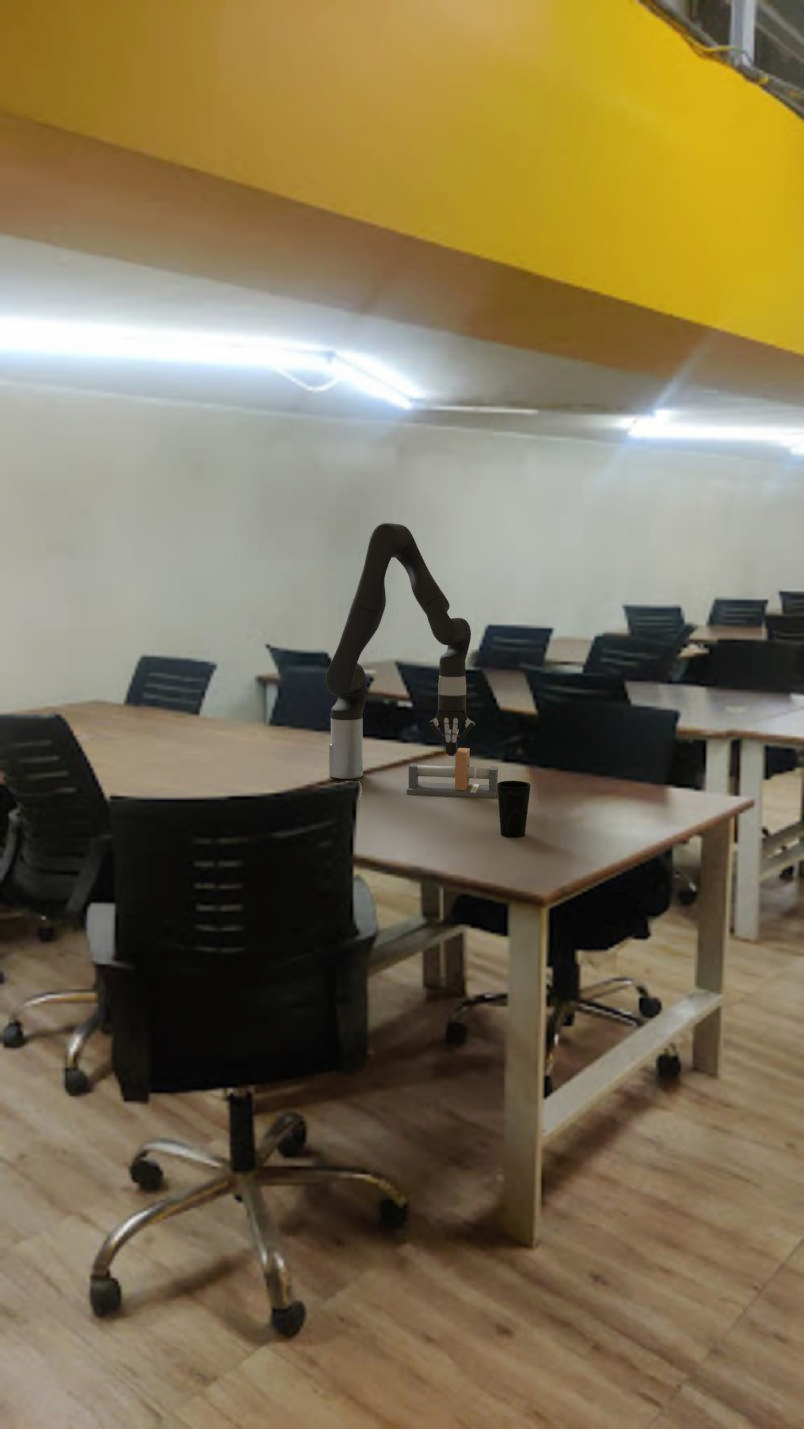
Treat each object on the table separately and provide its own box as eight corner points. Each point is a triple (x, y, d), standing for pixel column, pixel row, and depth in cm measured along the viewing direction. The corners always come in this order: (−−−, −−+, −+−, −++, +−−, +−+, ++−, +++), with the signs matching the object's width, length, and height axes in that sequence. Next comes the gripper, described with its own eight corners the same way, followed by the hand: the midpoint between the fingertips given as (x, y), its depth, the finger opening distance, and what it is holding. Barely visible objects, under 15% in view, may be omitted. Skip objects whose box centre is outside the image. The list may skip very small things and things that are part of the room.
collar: (454, 789, 276) (455, 753, 275) (458, 783, 284) (458, 747, 283) (466, 790, 276) (466, 753, 274) (469, 783, 284) (469, 748, 282)
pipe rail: (406, 794, 278) (406, 768, 277) (412, 785, 288) (412, 761, 286) (495, 797, 274) (495, 771, 273) (498, 789, 283) (498, 764, 282)
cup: (493, 830, 242) (494, 780, 240) (525, 829, 243) (526, 780, 241) (499, 839, 234) (500, 788, 232) (532, 838, 235) (533, 787, 233)
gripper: (425, 693, 274) (425, 757, 276) (475, 694, 271) (474, 759, 274) (429, 690, 281) (429, 752, 284) (478, 691, 279) (477, 753, 281)
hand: (451, 755), depth 279 cm, fingers closed
